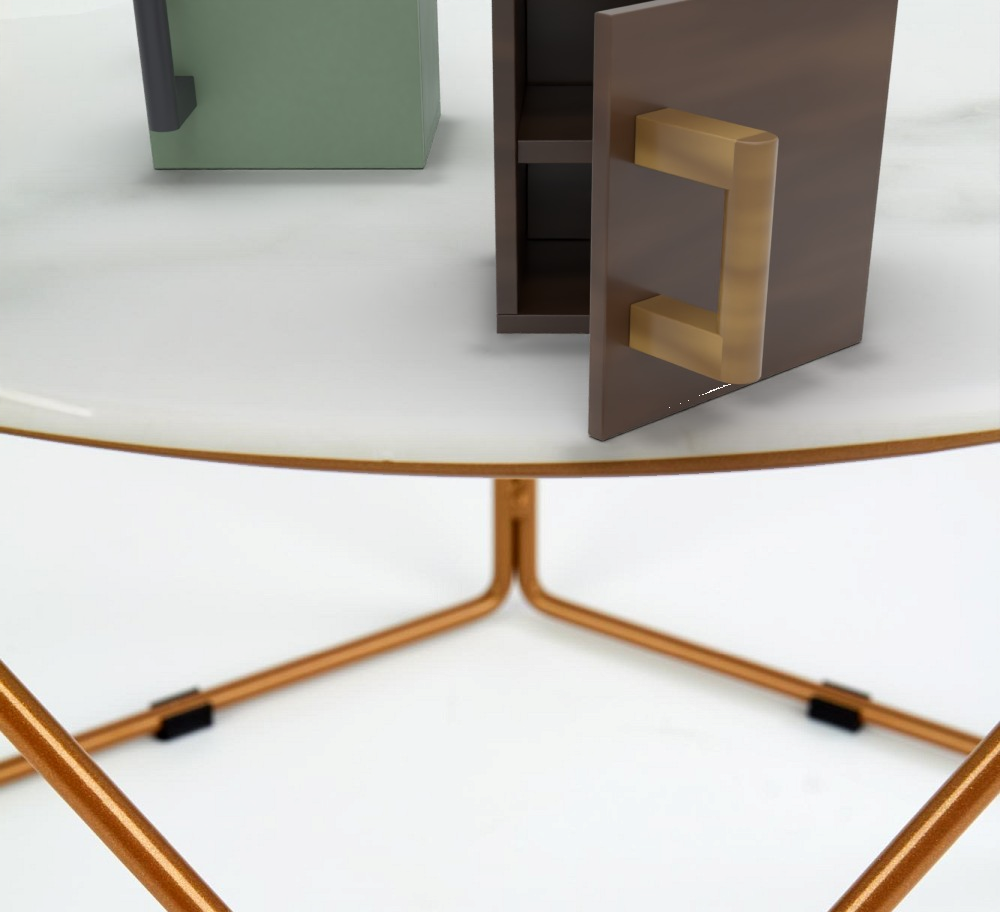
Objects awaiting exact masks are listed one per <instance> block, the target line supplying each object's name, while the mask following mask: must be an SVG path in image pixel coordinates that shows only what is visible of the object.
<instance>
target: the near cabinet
mask: <svg viewBox="0 0 1000 912" xmlns="http://www.w3.org/2000/svg"><path fill="white" fill-rule="evenodd" d="M650 1H655V0H491V44H492V45H491V53H492V54H491V55H492V61H491V62H492V116H493V117H492V119H493V122H492V123H493V176H494V177H493V180H494V182H493V183H494V184H493V185H494V187H493V189H494V190H493V191H494V244H495V246H494V247H495V248H494V249H495V250H494V251H495V304H496V305H495V308H496V309H495V311H496V317H495V319H496V334H499V335H500V334H501V335H503V334H505V335H507V334H512V335H513V334H514V335H515V334H516V335H517V334H518V335H522V334H524V335H525V334H526V335H528V334H529V335H531V334H532V335H548V334H549V335H562V334H563V335H590V279H591V215H592V151H593V86H594V22H595V13H596V12H599V11H604V10H609V9H614V8H619V7H625V6H630V5H635V4H640V3H645V2H650Z"/></svg>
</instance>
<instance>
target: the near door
mask: <svg viewBox="0 0 1000 912" xmlns="http://www.w3.org/2000/svg"><path fill="white" fill-rule="evenodd" d="M898 6H899V0H655V1H650V2H645V3H640V4H635V5H630V6H625V7H619V8H614V9H609V10H604V11H599V12H596V13H595V22H594V86H593V151H592V215H591V279H590V334H589V346H588V347H589V349H588V351H589V353H588V355H589V356H588V359H589V360H588V407H587V408H588V413H587V414H588V416H587V419H588V420H587V435H588V436H590V437H591V438H594V439H597V440H599V441H602V442H603V441H607V440H609V439H611V438H614V437H617V436H619V435H621V434H625V433H627V432H630V431H632V430H635V429H637V428H640V427H642V426H645V425H647V424H650V423H653V422H656V421H658V420H660V419H663V418H667V417H668V416H671V415H675V414H676V413H679V412H681V411H684V410H686V409H689V408H692V407H695V406H697V405H700V404H702V403H705V402H708V401H710V400H713V399H715V398H718V397H720V396H723V395H726V394H728V393H731V392H733V391H737V390H739V389H741V388H744V387H747V386H750V385H752V384H755V383H756V382H760V381H763V380H765V379H767V378H770V377H773V376H776V375H777V374H781V373H782V372H786V371H787V370H788V371H789V370H791V369H793V368H796V367H799V366H801V365H803V364H806V363H810V362H811V361H814V360H816V359H820V358H822V357H825V356H827V355H830V354H832V353H835V352H837V351H840V350H843V349H845V348H848V347H850V346H853V345H855V344H856V345H857V344H859V343H861V342H862V341H863V333H864V325H865V324H864V323H865V316H866V315H865V314H866V306H867V297H868V296H867V295H868V286H869V279H870V278H869V277H870V269H871V268H870V267H871V259H872V250H873V241H874V240H873V239H874V231H875V223H876V212H877V203H878V193H879V185H880V177H881V167H882V158H883V157H882V156H883V147H884V137H885V128H886V118H887V109H888V100H889V92H890V84H891V83H890V82H891V74H892V73H891V72H892V63H893V53H894V45H895V36H896V35H895V34H896V25H897V18H898V17H897V16H898ZM728 384H731V385H728ZM723 385H728V386H725V387H723ZM718 387H719V388H720V387H723V388H720V389H717V390H715V391H712V392H710V393H707V392H709V391H710V390H713V389H716V388H718ZM705 393H707V394H705ZM702 394H704V395H702ZM699 395H700V396H699ZM688 400H689V401H688ZM680 403H681V404H680ZM669 407H670V408H669Z"/></svg>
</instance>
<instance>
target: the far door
mask: <svg viewBox="0 0 1000 912" xmlns="http://www.w3.org/2000/svg"><path fill="white" fill-rule="evenodd" d="M132 7H133V15H134V21H135V31H136V38H137V45H138V54H139V62H140V70H141V77H142V87H143V94H144V102H145V103H144V104H145V111H146V117H147V118H146V119H147V126H148V135H149V142H150V143H149V144H150V150H151V159H152V160H151V161H152V167H153V169H155V170H159V169H160V170H163V169H165V170H167V169H168V170H170V169H171V170H174V169H175V170H176V169H179V170H180V169H183V170H186V169H187V170H188V169H191V170H194V169H195V170H196V169H200V170H201V169H203V170H204V169H207V170H209V169H213V170H214V169H216V170H217V169H221V170H223V169H226V170H227V169H234V170H236V169H237V170H238V169H244V170H245V169H250V170H251V169H252V170H253V169H254V170H255V169H257V170H259V169H262V170H263V169H264V170H265V169H272V170H273V169H274V170H275V169H276V170H277V169H424V167H425V165H426V164H425V156H424V130H423V103H422V77H421V50H420V24H419V0H132Z"/></svg>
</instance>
